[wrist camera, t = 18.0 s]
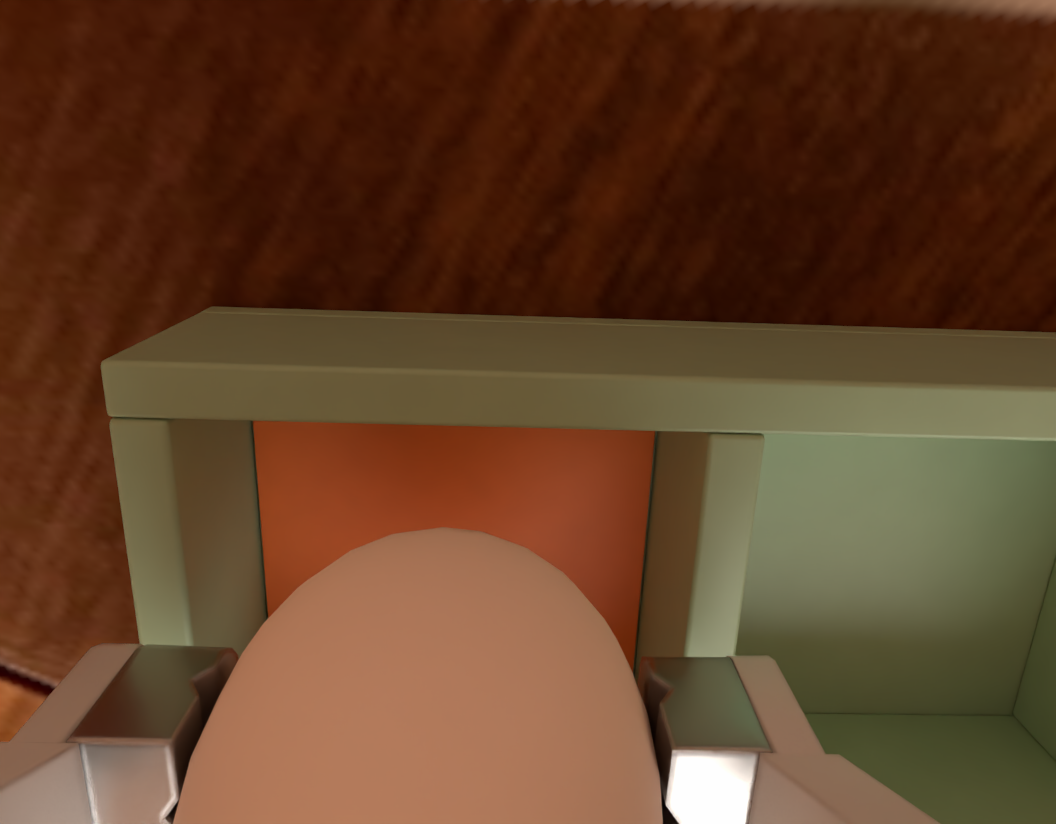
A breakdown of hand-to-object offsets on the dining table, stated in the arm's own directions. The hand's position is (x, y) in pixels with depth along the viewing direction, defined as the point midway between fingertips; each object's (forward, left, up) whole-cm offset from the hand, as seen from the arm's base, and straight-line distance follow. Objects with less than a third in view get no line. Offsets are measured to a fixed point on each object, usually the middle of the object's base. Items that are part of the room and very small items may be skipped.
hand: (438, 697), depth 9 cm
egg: (0, 0, -3) cm, 3 cm away
